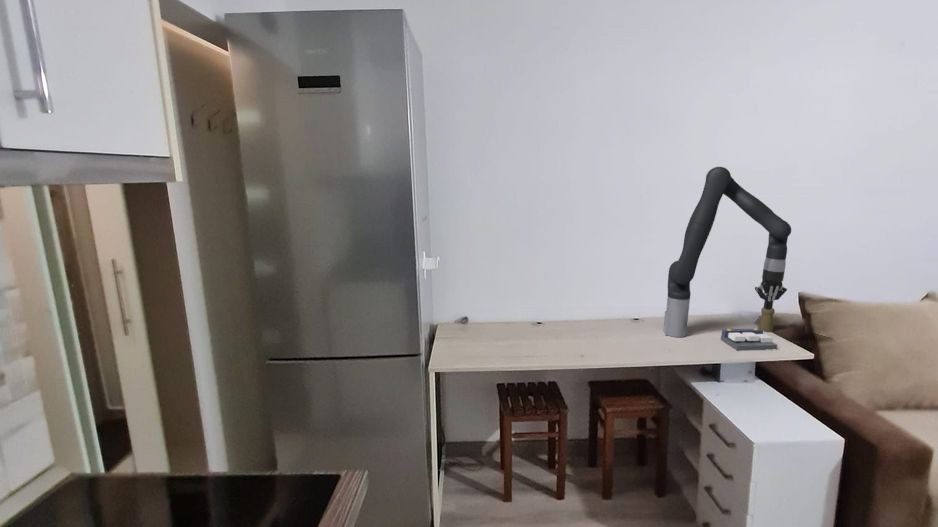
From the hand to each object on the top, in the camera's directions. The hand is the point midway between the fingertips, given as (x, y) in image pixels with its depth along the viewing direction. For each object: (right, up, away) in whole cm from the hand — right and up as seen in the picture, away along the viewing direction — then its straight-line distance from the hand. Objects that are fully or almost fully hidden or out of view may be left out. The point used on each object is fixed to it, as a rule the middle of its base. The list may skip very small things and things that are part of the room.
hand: (767, 309), depth 208 cm
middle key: (-6, -13, +2) cm, 14 cm away
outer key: (0, -14, +3) cm, 14 cm away
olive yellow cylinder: (+12, -12, +22) cm, 28 cm away
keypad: (-6, -15, +4) cm, 17 cm away
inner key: (-12, -13, +2) cm, 18 cm away
